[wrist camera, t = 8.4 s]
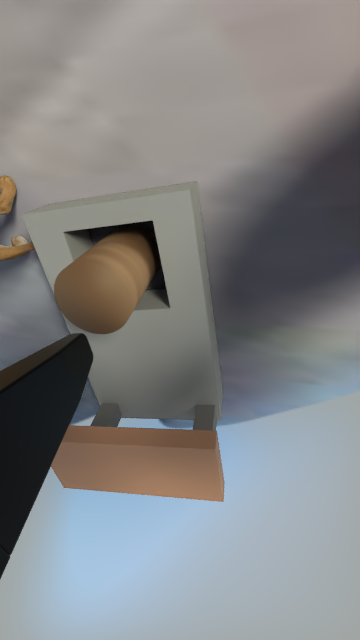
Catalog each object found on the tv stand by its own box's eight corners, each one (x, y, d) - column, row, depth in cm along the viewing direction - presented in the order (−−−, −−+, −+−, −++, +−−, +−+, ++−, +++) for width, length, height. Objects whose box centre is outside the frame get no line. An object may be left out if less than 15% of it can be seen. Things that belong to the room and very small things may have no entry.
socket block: (197, 181, 18) (189, 189, 15) (223, 392, 26) (221, 420, 24) (48, 204, 20) (21, 214, 18) (116, 392, 29) (104, 417, 26)
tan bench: (223, 345, 24) (215, 449, 16) (228, 392, 26) (223, 501, 19) (95, 349, 26) (35, 440, 19) (111, 392, 29) (64, 487, 21)
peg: (155, 220, 20) (118, 259, 14) (167, 277, 22) (138, 332, 16) (99, 227, 20) (41, 266, 15) (115, 282, 22) (69, 335, 17)
